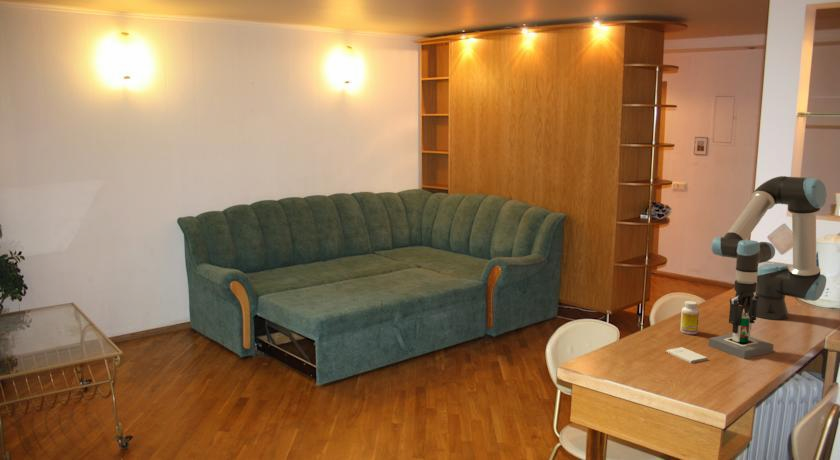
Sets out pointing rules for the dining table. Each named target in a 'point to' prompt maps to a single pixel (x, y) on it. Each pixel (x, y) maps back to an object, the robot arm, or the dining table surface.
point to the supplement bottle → (689, 318)
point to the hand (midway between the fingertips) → (741, 339)
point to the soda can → (744, 329)
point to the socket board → (741, 346)
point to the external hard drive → (687, 355)
